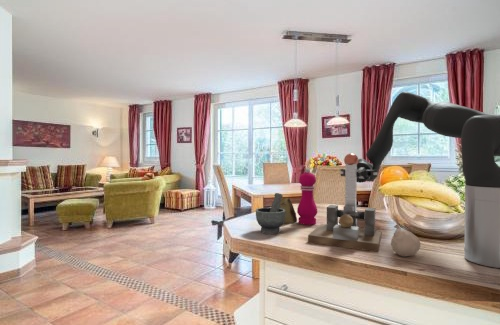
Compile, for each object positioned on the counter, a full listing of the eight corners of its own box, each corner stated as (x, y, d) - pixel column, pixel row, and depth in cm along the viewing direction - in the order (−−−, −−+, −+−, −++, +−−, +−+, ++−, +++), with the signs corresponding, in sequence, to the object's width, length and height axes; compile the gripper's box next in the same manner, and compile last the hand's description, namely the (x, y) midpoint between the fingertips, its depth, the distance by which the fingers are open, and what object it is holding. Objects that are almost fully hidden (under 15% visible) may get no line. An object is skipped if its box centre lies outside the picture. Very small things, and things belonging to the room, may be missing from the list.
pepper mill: (320, 222, 106) (320, 168, 106) (313, 226, 100) (313, 168, 100) (301, 220, 110) (302, 167, 110) (294, 223, 104) (294, 168, 104)
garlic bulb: (386, 250, 74) (386, 219, 73) (412, 251, 73) (413, 220, 73) (396, 259, 67) (397, 225, 67) (426, 260, 66) (426, 226, 66)
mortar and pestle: (274, 237, 86) (274, 196, 86) (249, 232, 92) (249, 194, 92) (292, 229, 95) (292, 193, 95) (268, 225, 101) (269, 191, 101)
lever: (365, 229, 85) (365, 153, 85) (362, 235, 78) (363, 152, 78) (338, 226, 89) (339, 153, 88) (333, 231, 82) (334, 153, 82)
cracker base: (381, 236, 87) (381, 206, 87) (378, 252, 72) (378, 216, 72) (321, 229, 95) (321, 202, 95) (307, 242, 80) (307, 210, 80)
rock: (261, 216, 106) (283, 216, 100) (267, 197, 110) (288, 196, 104) (275, 229, 112) (297, 230, 106) (280, 211, 116) (301, 210, 110)
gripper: (343, 161, 112) (334, 162, 97) (380, 162, 106) (377, 163, 91) (343, 180, 113) (334, 184, 97) (380, 182, 107) (377, 187, 91)
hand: (355, 174), depth 94 cm, fingers closed
